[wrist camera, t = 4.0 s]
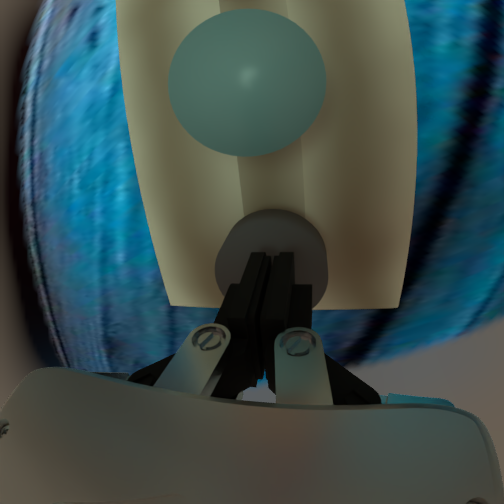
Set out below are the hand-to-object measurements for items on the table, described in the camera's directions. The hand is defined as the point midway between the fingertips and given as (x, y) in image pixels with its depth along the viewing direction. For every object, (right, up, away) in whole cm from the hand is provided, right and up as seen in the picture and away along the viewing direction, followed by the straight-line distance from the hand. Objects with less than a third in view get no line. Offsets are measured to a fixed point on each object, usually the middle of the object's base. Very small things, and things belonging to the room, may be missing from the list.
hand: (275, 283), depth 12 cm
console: (0, +11, +4) cm, 11 cm away
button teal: (0, +9, 0) cm, 9 cm away
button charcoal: (+1, +3, +5) cm, 6 cm away
